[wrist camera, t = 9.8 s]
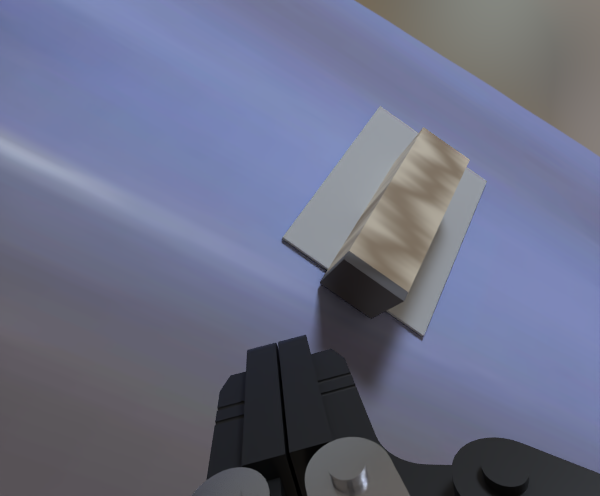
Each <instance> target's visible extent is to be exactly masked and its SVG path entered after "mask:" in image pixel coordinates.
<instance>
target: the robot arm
mask: <svg viewBox="0 0 600 496" xmlns="http://www.w3.org/2000/svg"><path fill="white" fill-rule="evenodd" d="M278 347H279V349H278ZM217 408H218V411H217V414H216V421H215V422H216V425H215V427H214V434H213V441H212V447H211V454H210V461H209V467H208V474H207V480H206V481H205V482H204V483H203V484H202V485H201V486H199V487H198V489H197V490H196V491H195V492H194V493H193V494H192V496H600V474H599V473H597V472H594V471H591V470H589V469H586V468H584V467H581V466H579V465H576V464H574V463H571V462H569V461H566V460H563V459H561V458H558V457H556V456H553V455H551V454H548V453H546V452H543V451H540V450H538V449H535V448H533V447H530V446H528V445H525V444H523V443H520V442H517V441H514V440H509V439H504V438H483V439H478V440H475V441H472V442H470V443H468V444H466V445H465V446H464V447H462V448H461V449H460V450H459V451H458V453H457V454H456V455H455V457H454V460H453V463H452V465H426V464H416V463H411V462H408V461H405V460H402V459H400V458H398V457H396V456H394V455H392V454H391V453H389V452H388V451H387V450H386V449H385V448H384V447H383V446H382V445H381V444H380V442H379V441H378V439H377V437H376V435H375V433H374V430H373V428H372V425H371V423H370V420H369V418H368V415H367V413H366V410H365V408H364V405H363V403H362V400H361V398H360V395H359V393H358V390H357V388H356V386H355V383H354V381H353V378H352V376H351V374H350V371H349V368H348V366H347V363H346V361H345V358H343V357H342V356H341V355H339V354H338V353H337V352H335V351H334V350H332V349H329V350H325V351H322V352H318V353H314V354H311V353H310V349H309V345H308V341H307V337H306V335H303V336H299V337H295V338H291V339H288V340H284V341H280V342H278V346H277V344H276V343H273V344H269V345H265V346H261V347H257V348H254V349H250V350H248V351H247V364H246V372H243V373H239V374H235V375H231V376H230V377H229V379H228V380H227V382H226V383H225V385H224V386H223V388H222V389H221V391H220V394H219V401H218V407H217Z"/></svg>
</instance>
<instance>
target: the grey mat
mask: <svg viewBox="0 0 600 496" xmlns="http://www.w3.org/2000/svg"><path fill="white" fill-rule="evenodd" d="M417 135H418V132H416V131H415V130H413V129H412V128H410V127H409V126H408V125H406V124H405V123H403V122H402V121H400V120H399V119H398V118H396V117H395V116H393V115H392V114H391V113H389V112H388V111H386V110H385V109H383V108H382V107H381V106H380V107H379V108H378V109H377V111H376V112H375V114H374V115H373V116H372V118H371V119H370V120H369V122H368V123H367V124H366V126H365V127H364V128H363V130H362V131H361V132H360V134H359V135H358V136H357V138H356V139H355V141H354V142H353V143H352V145H351V146H350V147H349V149H348V150H347V151H346V153H345V154H344V155H343V157H342V158H341V159H340V161H339V162H338V163H337V165H336V166H335V167H334V169H333V170H332V172H331V173H330V174H329V176H328V177H327V178H326V180H325V181H324V182H323V184H322V185H321V186H320V188H319V189H318V190H317V192H316V193H315V194H314V196H313V197H312V199H311V200H310V201H309V203H308V204H307V205H306V207H305V208H304V209H303V211H302V212H301V213H300V215H299V216H298V217H297V219H296V220H295V221H294V223H293V224H292V226H291V227H290V228H289V230H288V231H287V232H286V234H285V235H284V236H283V238H282V239H283V240H285V241H286V242H288V243H289V244H290V245H292V246H293V247H295V248H296V249H298V250H299V251H300V252H302V253H303V254H305V255H306V256H308V257H309V258H310V259H312V260H313V261H315V262H316V263H318V264H319V265H320V266H322V267H323V268H325V269H326V270H328V268H329V267H330V265H331V264H332V262H333V260H334V259H335V257H336V256H337V254H338V252H339V251H340V249H341V248H342V246H343V244H344V243H345V241H346V239H347V238H348V236H349V235H350V233H351V231H352V230H353V228H354V227H355V225H356V223H357V222H358V220H359V219H360V217H361V215H362V214H363V212H364V210H365V209H366V207H367V206H368V204H369V202H370V201H371V199H372V198H373V196H374V194H375V193H376V191H377V190H378V188H379V186H380V185H381V183H382V181H383V180H384V178H385V177H386V175H387V173H388V172H389V170H390V169H391V167H392V165H393V164H394V162H395V161H396V159H397V158H398V157H399V156H400V155H401V154H402V152H403V151H404V150H405V149H406V148H407V146H408V145H409V144H410V143H411V142H412V140H413V139H414V138H415V137H416V136H417ZM486 182H487V181H486V180H484V179H483V178H481V177H480V176H479V175H477V174H476V173H474V172H473V171H471V170H470V169H469V168H467V167H466V169H465V171H464V173H463V175H462V177H461V180H460V182H459V184H458V186H457V188H456V190H455V193H454V195H453V197H452V199H451V201H450V203H449V206H448V208H447V210H446V212H445V214H444V216H443V219H442V221H441V223H440V225H439V227H438V229H437V232H436V234H435V236H434V238H433V240H432V242H431V245H430V247H429V249H428V251H427V253H426V255H425V258H424V260H423V262H422V264H421V266H420V268H419V270H418V273H417V275H416V277H415V279H414V281H413V283H412V286H411V288H410V290H409V292H408V294H407V296H406V299H405V301H404V302H402V303H400V304H398V305H396V306H394V307H393V308H391V309H389V310H387V311H386V312H388V313H389V314H390V315H392V316H393V317H395V318H396V319H398V320H399V321H400V322H402V323H403V324H405V325H406V326H408V327H409V328H410V329H412V330H413V331H415V332H416V333H418V334H419V335H420V336H424V334H425V332H426V329H427V327H428V324H429V322H430V319H431V317H432V314H433V312H434V309H435V307H436V305H437V302H438V300H439V297H440V295H441V292H442V290H443V287H444V285H445V282H446V280H447V278H448V275H449V273H450V270H451V268H452V265H453V263H454V260H455V258H456V255H457V253H458V251H459V248H460V246H461V243H462V241H463V238H464V236H465V233H466V231H467V228H468V226H469V224H470V221H471V219H472V216H473V214H474V211H475V209H476V206H477V204H478V202H479V199H480V197H481V194H482V192H483V189H484V187H485V184H486Z"/></svg>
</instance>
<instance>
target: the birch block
mask: <svg viewBox="0 0 600 496" xmlns="http://www.w3.org/2000/svg"><path fill="white" fill-rule="evenodd" d="M468 162H469V159H468V158H466V157H465V156H464V155H462V154H461V153H459V152H458V151H456V150H455V149H454V148H452V147H451V146H449V145H448V144H446V143H445V142H444V141H442V140H441V139H439V138H438V137H437V136H435V135H434V134H432V133H431V132H429V131H428V130H427V129H425V128H424V127H423V129H422V130H421V131H420V132H419V133H418V135H417V136H416V137H415V138H414V139H413V140H412V142H411V143H410V144H409V145H408V146H407V148H406V149H405V150H404V151H403V152H402V154H401V155H400V156H399V157H398V158H397V159H396V161H395V162H394V164H393V165H392V167H391V169H390V170H389V172H388V173H387V175H386V177H385V178H384V180H383V181H382V183H381V185H380V186H379V188H378V190H377V191H376V193H375V194H374V196H373V198H372V199H371V201H370V202H369V204H368V206H367V207H366V209H365V210H364V212H363V214H362V215H361V217H360V219H359V220H358V222H357V223H356V225H355V227H354V228H353V230H352V231H351V233H350V235H349V236H348V238H347V239H346V241H345V243H344V244H343V246H342V248H341V249H340V251H339V252H338V254H337V256H336V257H335V259H334V260H333V262H332V264H331V265H330V267H329V268H328V270H327V272H326V273H325V275H324V277H323V278H322V280H321V281H320V283H321V284H322V285H324V286H325V287H326V288H328V289H329V290H331V291H332V292H334V293H335V294H336V295H338V296H339V297H341V298H342V299H344V300H345V301H346V302H348V303H349V304H351V305H352V306H354V307H355V308H356V309H358V310H359V311H361V312H362V313H364V314H365V315H366V316H368V317H369V318H371V319H372V318H374V317H376V316H377V315H379V314H381V313H383V312H385V311H387V310H389V309H391V308H393V307H394V306H396V305H398V304H400V303H402V302H404V301H405V299H406V296H407V294H408V292H409V290H410V288H411V286H412V283H413V281H414V279H415V277H416V275H417V273H418V270H419V268H420V266H421V264H422V262H423V260H424V258H425V255H426V253H427V251H428V249H429V247H430V245H431V242H432V240H433V238H434V236H435V234H436V232H437V229H438V227H439V225H440V223H441V221H442V219H443V216H444V214H445V212H446V210H447V208H448V206H449V203H450V201H451V199H452V197H453V195H454V193H455V190H456V188H457V186H458V184H459V182H460V180H461V177H462V175H463V173H464V171H465V169H466V167H467V164H468Z"/></svg>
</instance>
